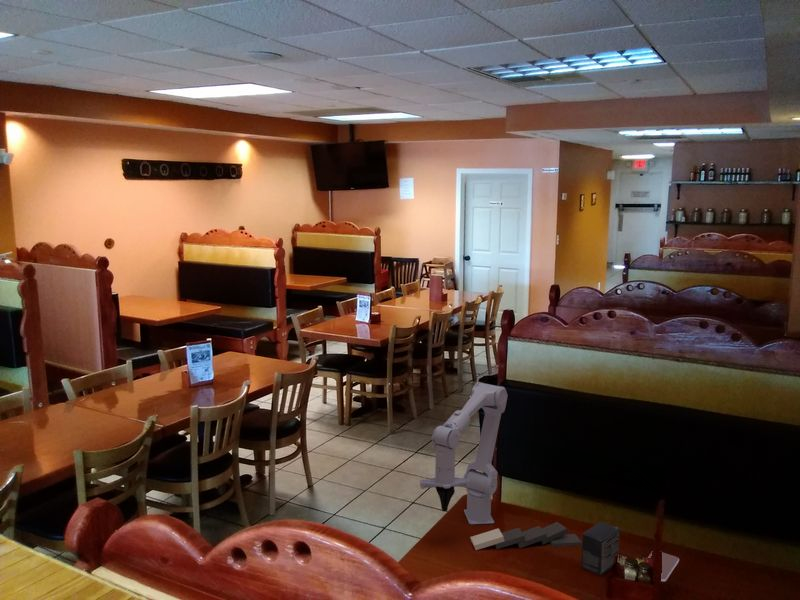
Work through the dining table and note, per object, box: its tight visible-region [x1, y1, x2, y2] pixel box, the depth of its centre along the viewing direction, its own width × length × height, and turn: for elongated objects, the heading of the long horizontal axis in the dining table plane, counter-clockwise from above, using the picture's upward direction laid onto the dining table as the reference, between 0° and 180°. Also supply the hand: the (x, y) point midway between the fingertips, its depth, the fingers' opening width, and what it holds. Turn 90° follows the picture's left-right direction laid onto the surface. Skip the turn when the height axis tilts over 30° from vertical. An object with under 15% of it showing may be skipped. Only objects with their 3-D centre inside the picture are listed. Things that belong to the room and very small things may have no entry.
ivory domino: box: [469, 527, 504, 551], centre depth 195 cm, size 2×5×9 cm
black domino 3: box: [516, 525, 547, 549], centre depth 197 cm, size 2×5×9 cm
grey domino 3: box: [549, 533, 582, 548], centre depth 198 cm, size 2×5×9 cm
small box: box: [581, 521, 621, 576], centre depth 185 cm, size 11×6×10 cm, turn 134°
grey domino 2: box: [538, 521, 569, 545], centre depth 199 cm, size 2×5×9 cm
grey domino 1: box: [493, 527, 525, 550], centre depth 196 cm, size 2×5×9 cm
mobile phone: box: [647, 551, 680, 582], centre depth 185 cm, size 8×1×15 cm
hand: (444, 509), depth 195 cm, fingers closed
